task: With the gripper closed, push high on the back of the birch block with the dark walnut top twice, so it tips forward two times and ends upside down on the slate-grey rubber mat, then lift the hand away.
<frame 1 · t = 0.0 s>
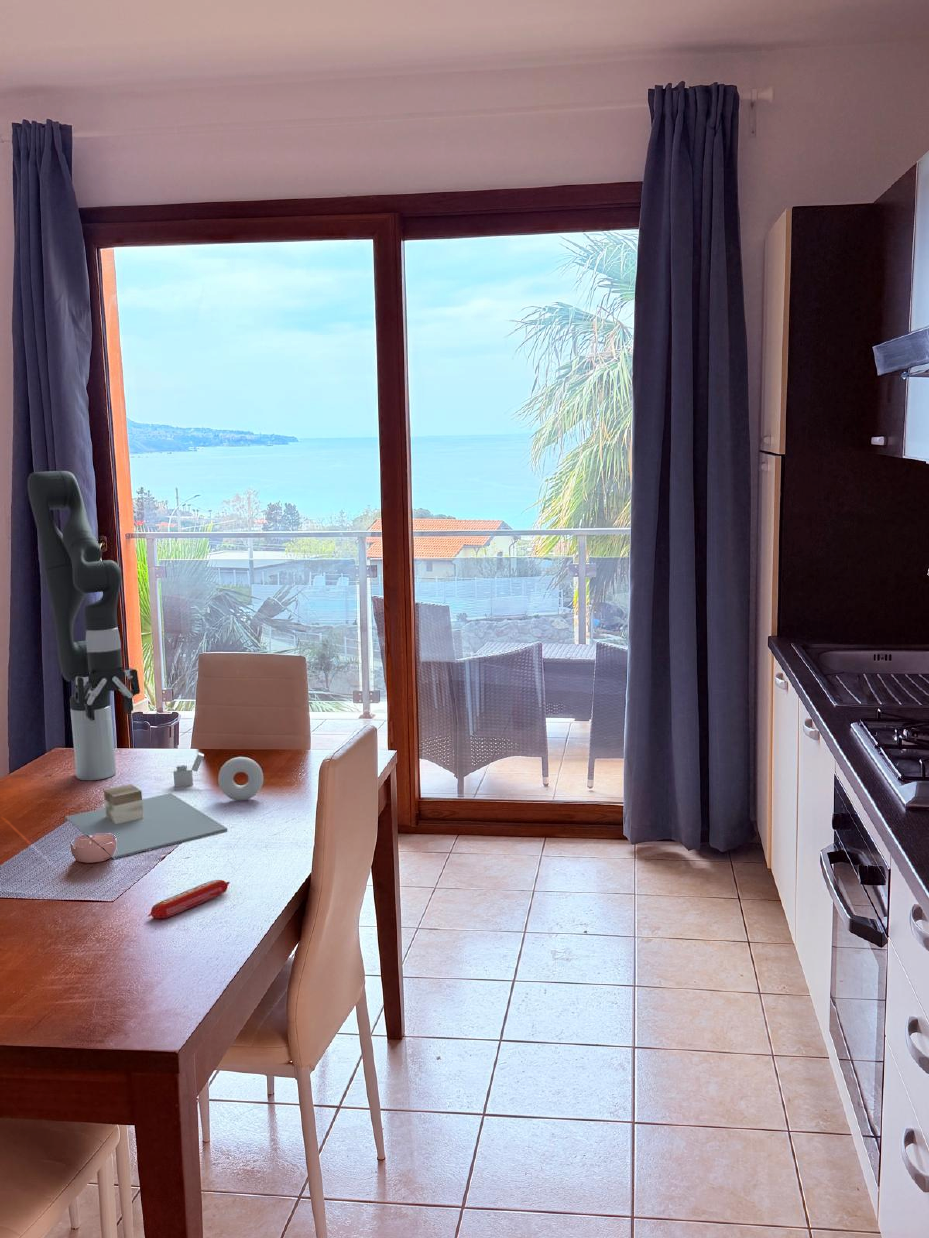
hand: (110, 716, 256), 17 cm above the table, tool pointing down, fingers open, 8 cm apart
donut: (242, 800, 248), on the table
packaged sausage: (190, 907, 192), on the table
mat: (144, 824, 233), on the table
lighter: (190, 787, 258), on the table
block: (124, 817, 237), resting on mat
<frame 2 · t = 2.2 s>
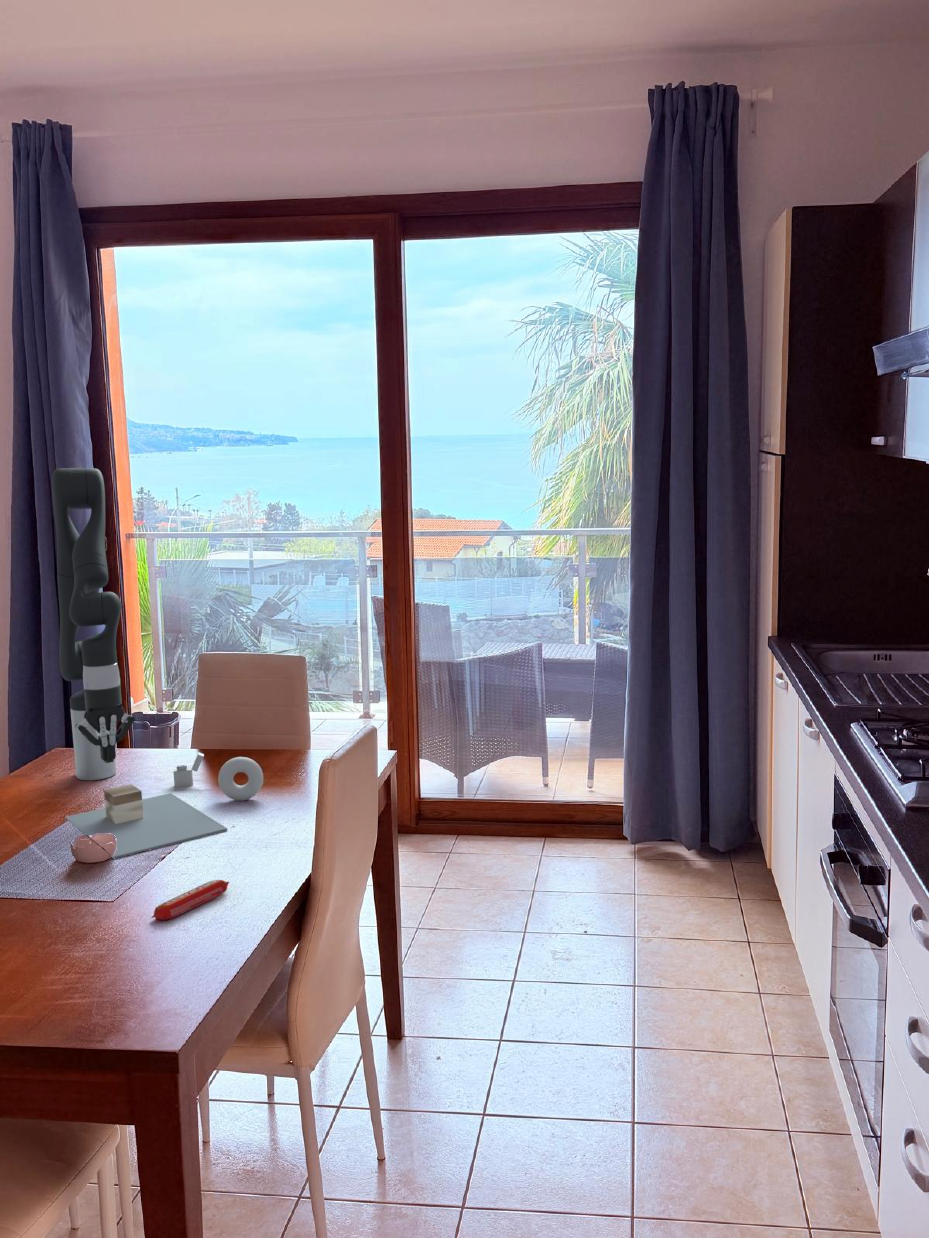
hand: (108, 761, 241), 11 cm above the table, tool pointing down, fingers closed
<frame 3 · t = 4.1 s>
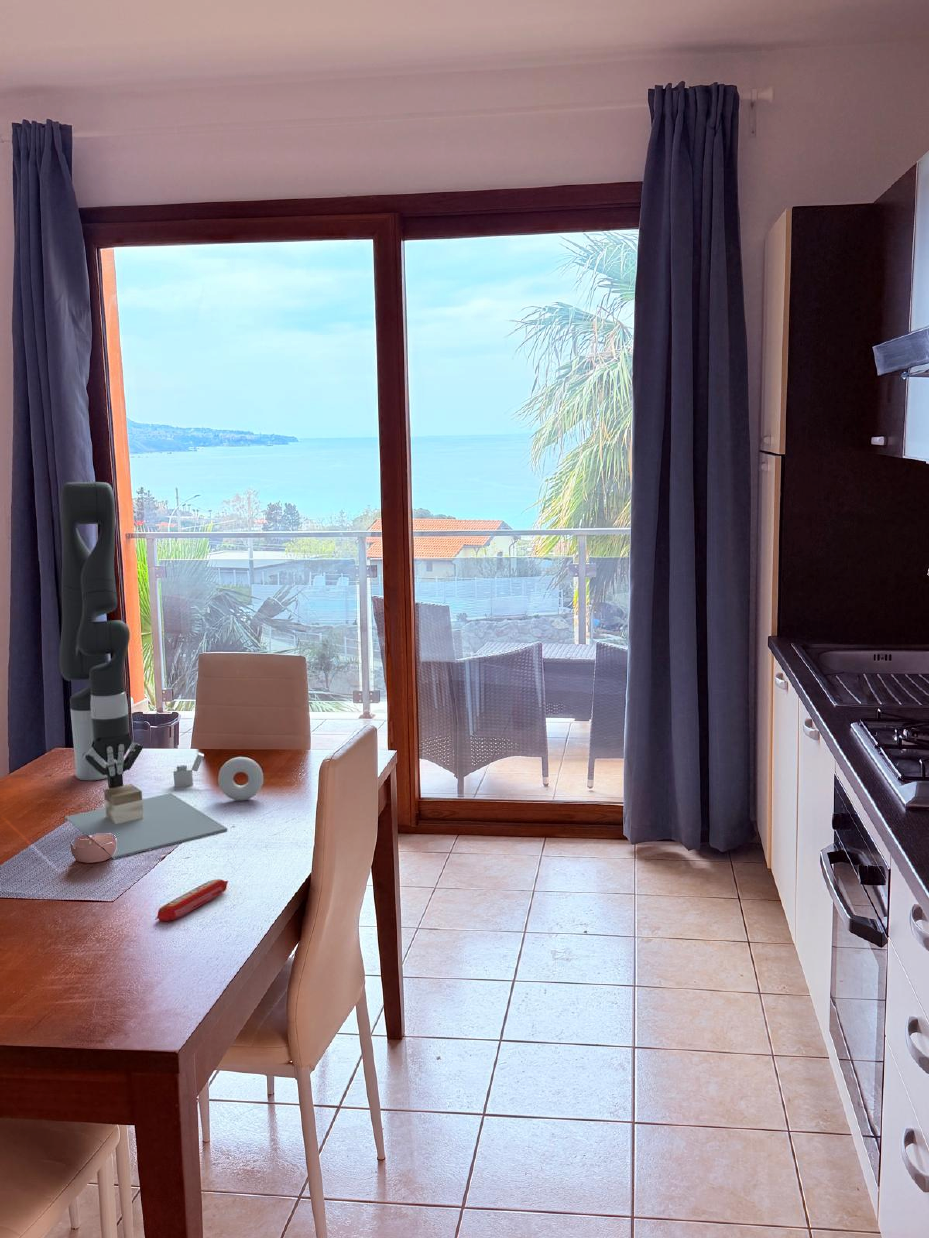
hand: (115, 790, 239), 5 cm above the table, tool pointing down, fingers closed
block: (124, 816, 237), point 1 cm above the table, touching gripper, mat
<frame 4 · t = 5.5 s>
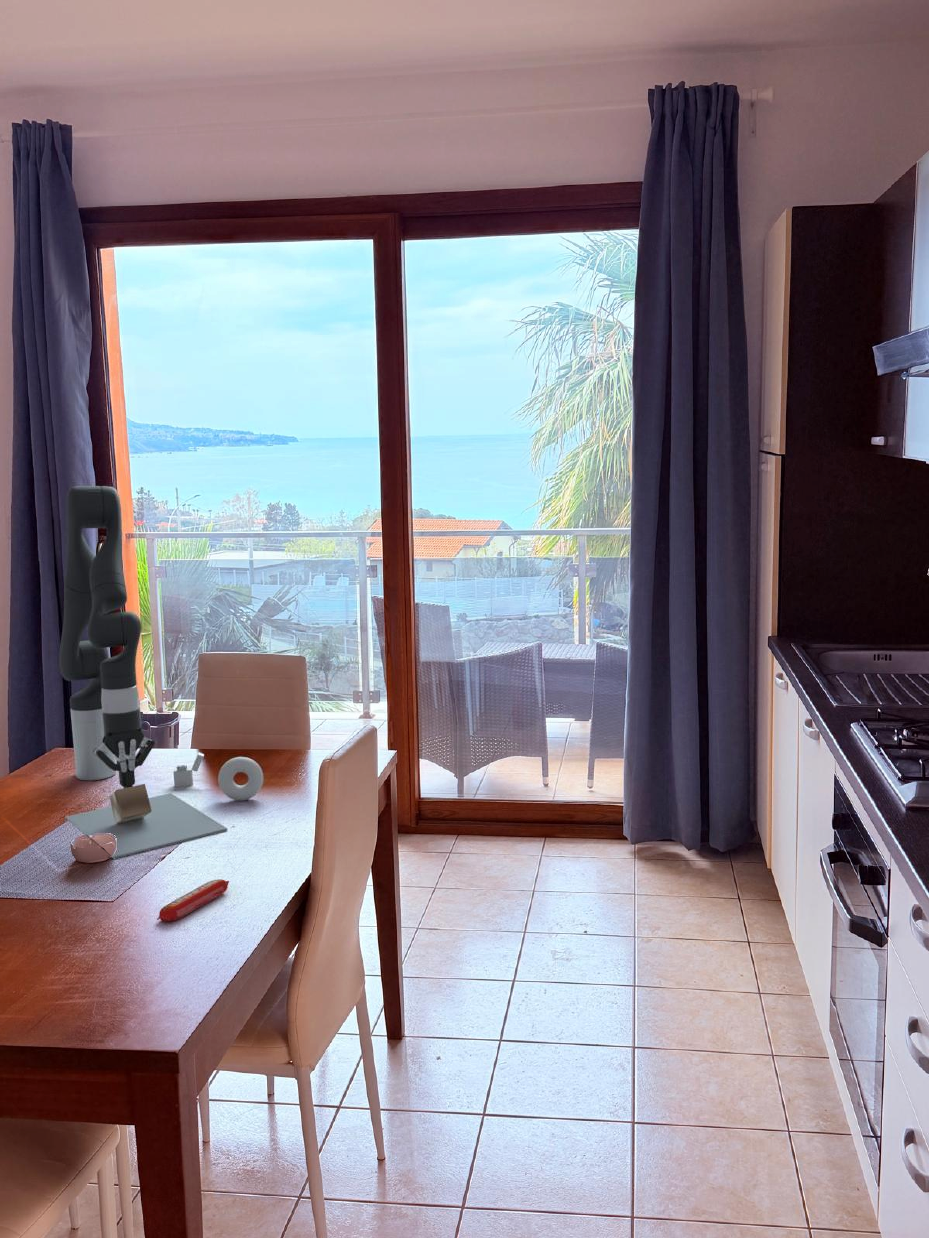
hand: (127, 787, 233), 8 cm above the table, tool pointing down, fingers closed
block: (126, 807, 235), point 3 cm above the table, tilted 61°, touching gripper, mat
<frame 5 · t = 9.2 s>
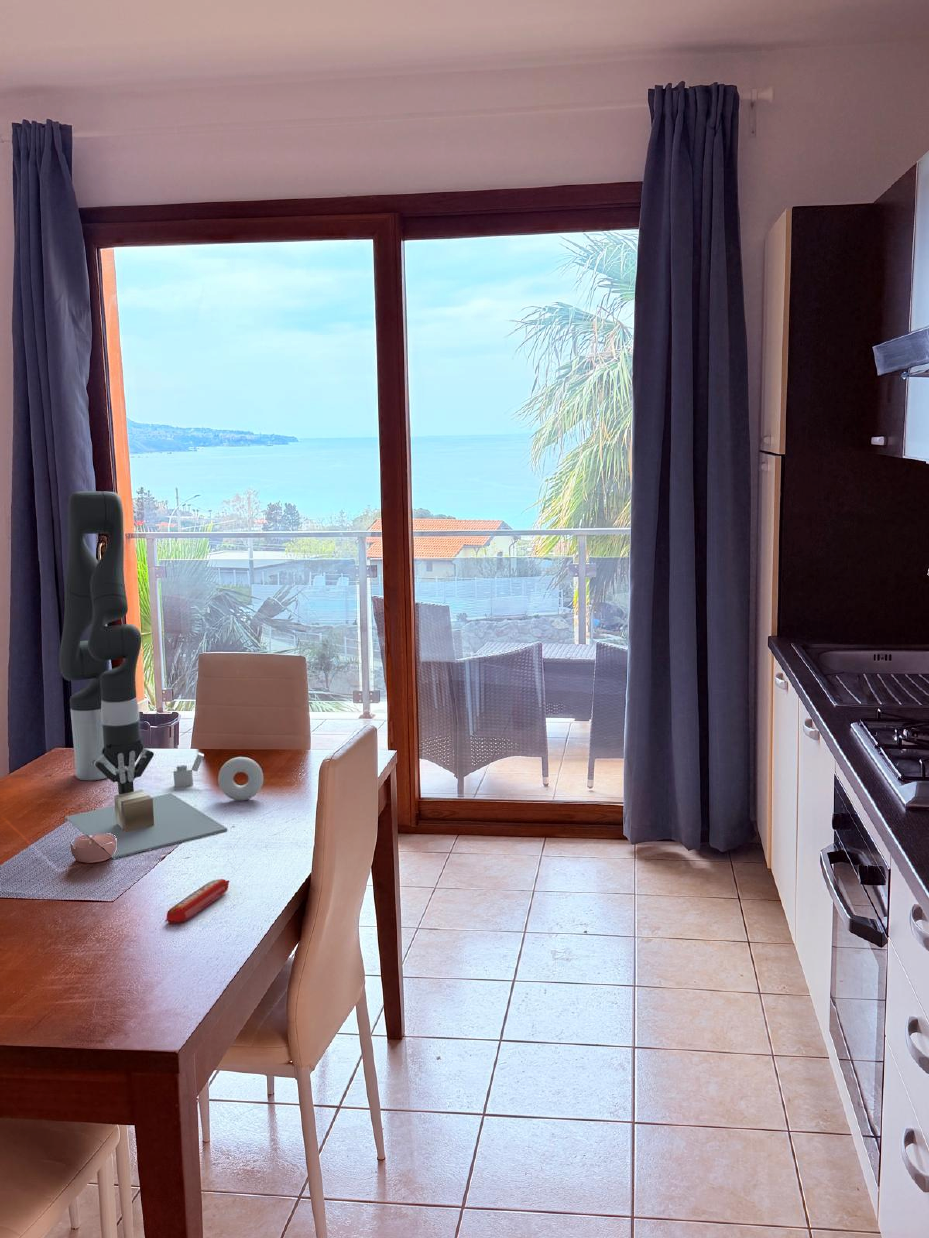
hand: (126, 797, 234), 5 cm above the table, tool pointing down, fingers closed
block: (128, 805, 234), point 4 cm above the table, tilted 94°, touching gripper, mat
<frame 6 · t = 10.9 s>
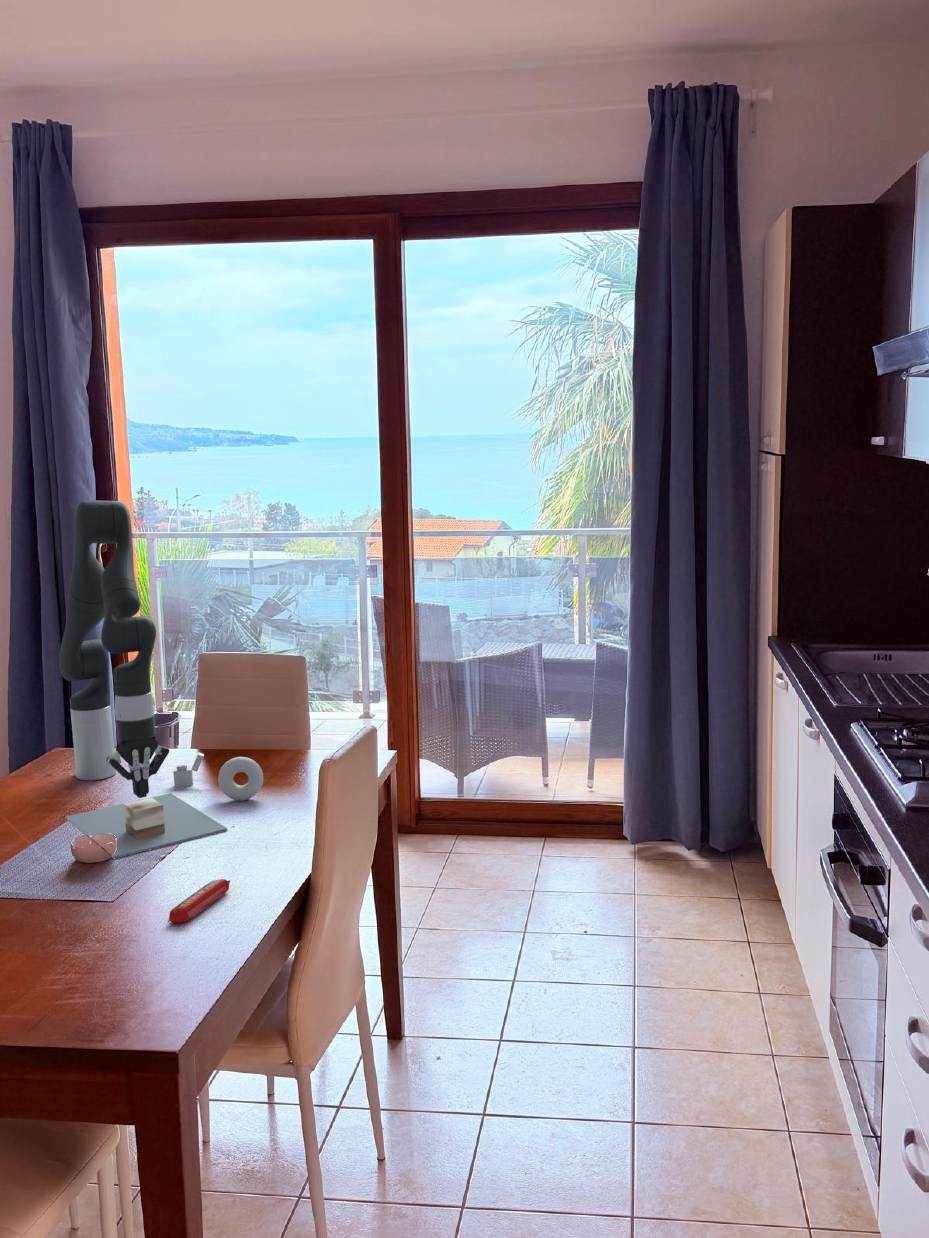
hand: (141, 796, 227), 8 cm above the table, tool pointing down, fingers closed
block: (143, 804, 226), point 6 cm above the table, tilted 180°, touching mat
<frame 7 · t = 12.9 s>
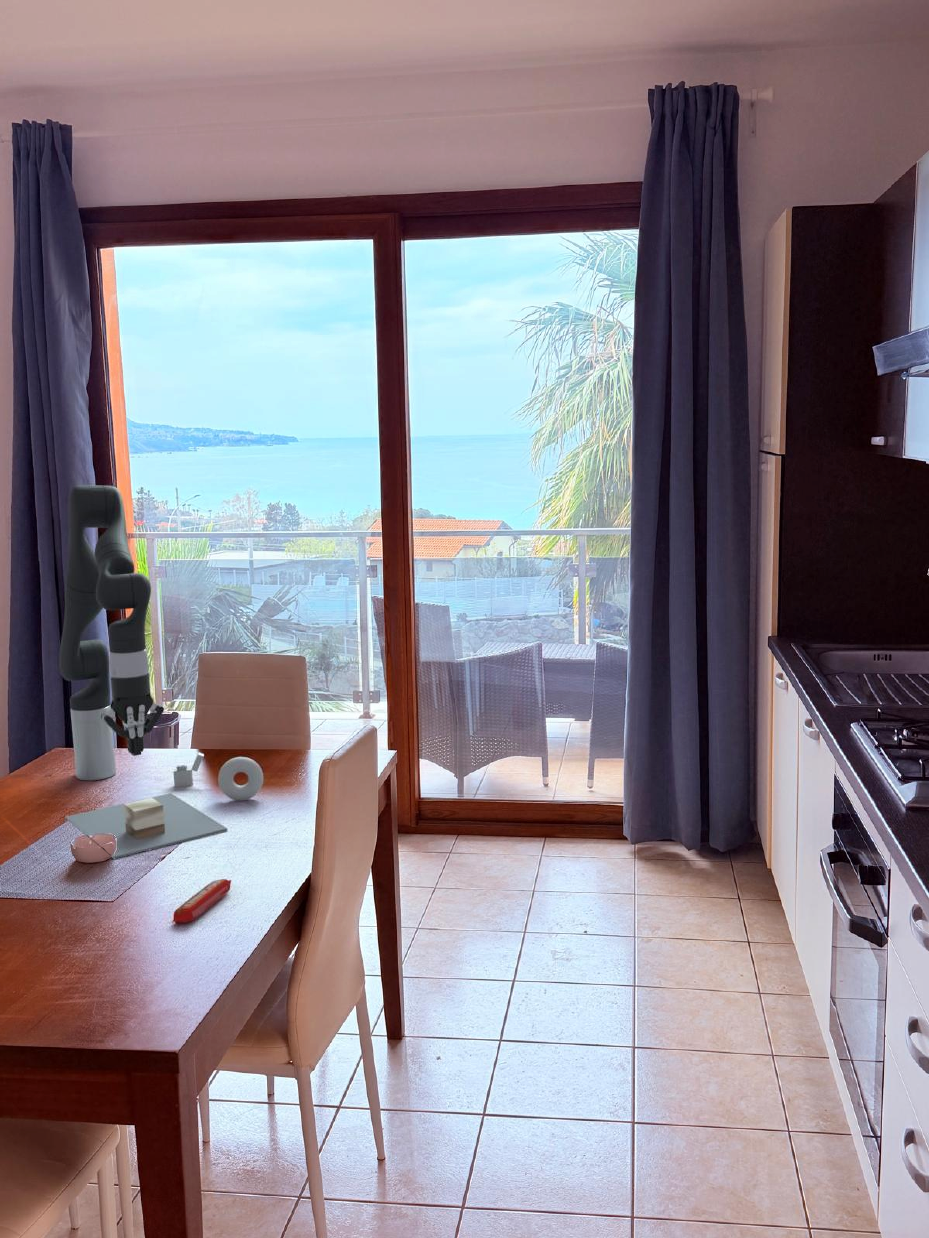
hand: (135, 754, 226), 17 cm above the table, tool pointing down, fingers closed
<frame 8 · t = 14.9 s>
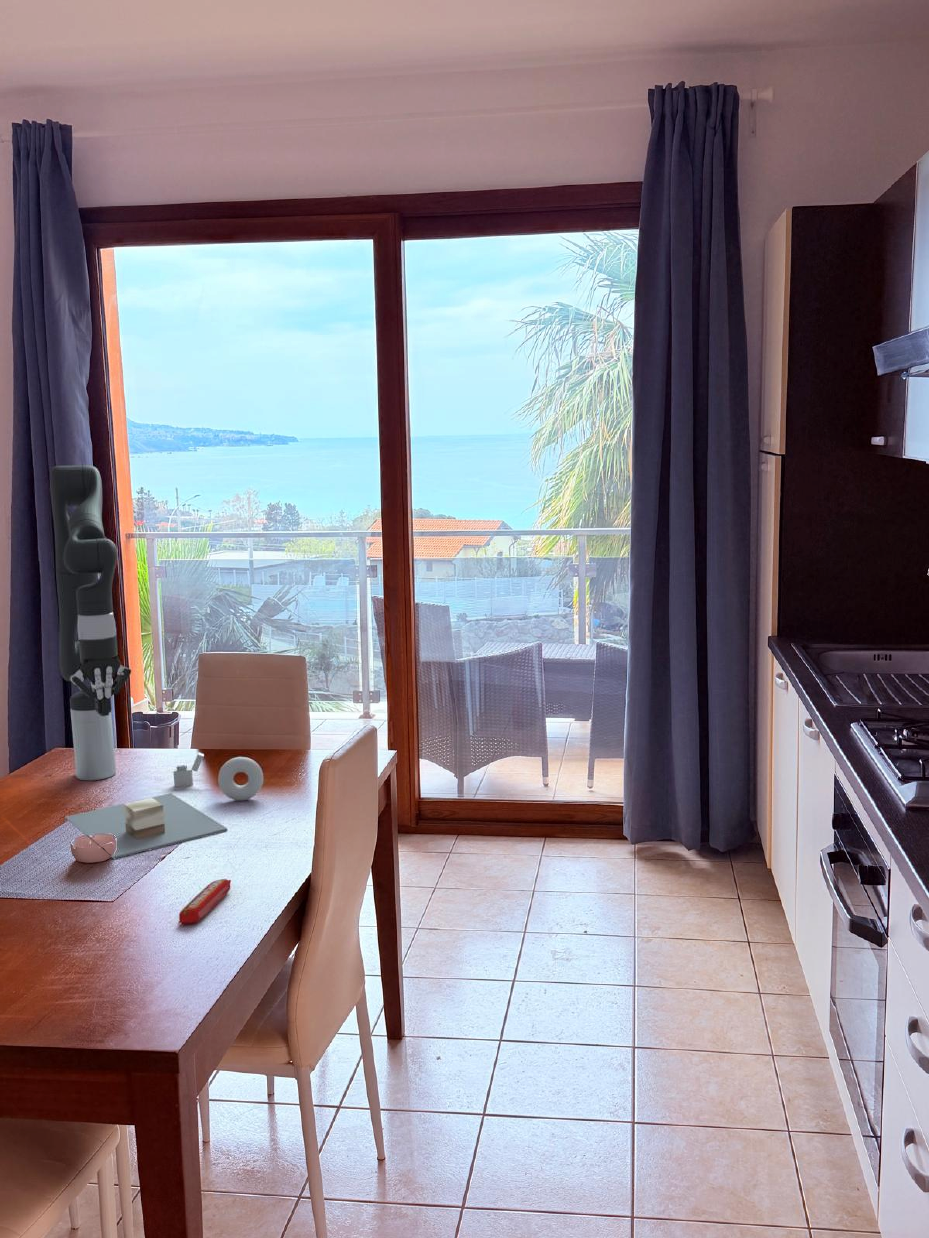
hand: (103, 715, 233), 23 cm above the table, tool pointing down, fingers closed
at the end: block tilted 180°; block inside the target area (1.0 cm from its centre), point 6.5 cm above the table; the gripper is holding nothing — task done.
